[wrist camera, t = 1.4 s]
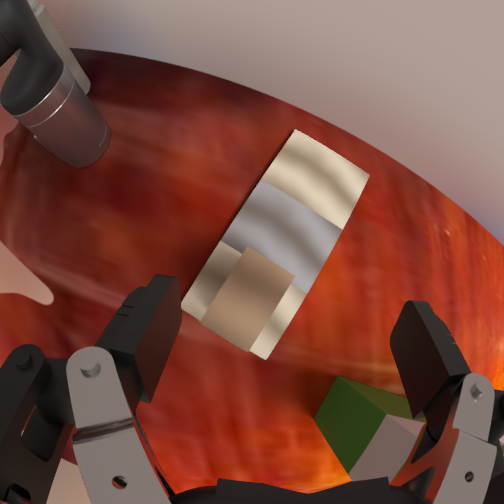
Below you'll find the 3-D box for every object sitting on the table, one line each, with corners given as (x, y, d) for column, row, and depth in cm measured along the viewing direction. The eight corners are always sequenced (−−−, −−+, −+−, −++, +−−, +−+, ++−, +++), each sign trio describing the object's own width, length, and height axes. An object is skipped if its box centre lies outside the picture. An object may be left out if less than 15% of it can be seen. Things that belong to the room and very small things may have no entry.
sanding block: (245, 334, 35) (247, 352, 24) (211, 313, 35) (199, 322, 24) (278, 280, 36) (295, 275, 25) (245, 260, 36) (247, 246, 25)
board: (265, 358, 36) (266, 360, 34) (180, 306, 36) (178, 306, 35) (366, 178, 40) (369, 175, 39) (294, 133, 40) (295, 129, 39)
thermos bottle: (51, 106, 40) (-19, 22, 12) (74, 76, 41) (17, -12, 14) (73, 112, 40) (-2, 14, 12) (98, 80, 41) (40, -22, 13)
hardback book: (421, 401, 35) (523, 452, 12) (400, 439, 34) (487, 507, 11) (337, 375, 36) (440, 453, 12) (313, 419, 35) (383, 527, 11)
